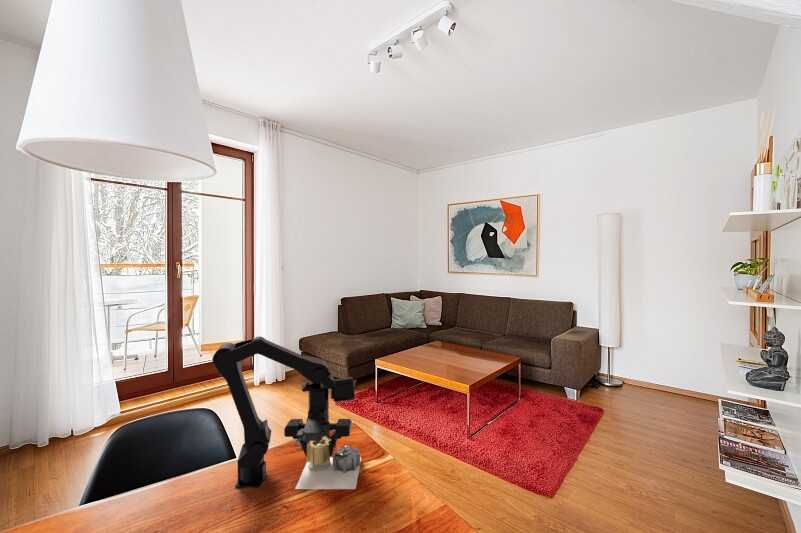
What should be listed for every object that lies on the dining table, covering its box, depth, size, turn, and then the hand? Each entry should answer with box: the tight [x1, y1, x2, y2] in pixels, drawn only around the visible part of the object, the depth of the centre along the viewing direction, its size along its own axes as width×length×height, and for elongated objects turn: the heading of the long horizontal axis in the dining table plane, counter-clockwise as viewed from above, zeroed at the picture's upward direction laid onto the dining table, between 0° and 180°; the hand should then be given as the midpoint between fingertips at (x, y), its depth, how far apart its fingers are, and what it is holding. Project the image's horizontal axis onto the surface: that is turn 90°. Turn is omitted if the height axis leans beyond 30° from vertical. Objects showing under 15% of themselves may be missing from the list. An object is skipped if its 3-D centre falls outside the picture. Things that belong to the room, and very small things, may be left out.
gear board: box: [294, 443, 362, 490], centre depth 103 cm, size 16×15×8 cm
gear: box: [332, 444, 361, 473], centre depth 107 cm, size 8×8×6 cm
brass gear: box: [306, 437, 331, 465], centre depth 107 cm, size 7×7×5 cm
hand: (319, 456), depth 107 cm, fingers open, 7 cm apart
